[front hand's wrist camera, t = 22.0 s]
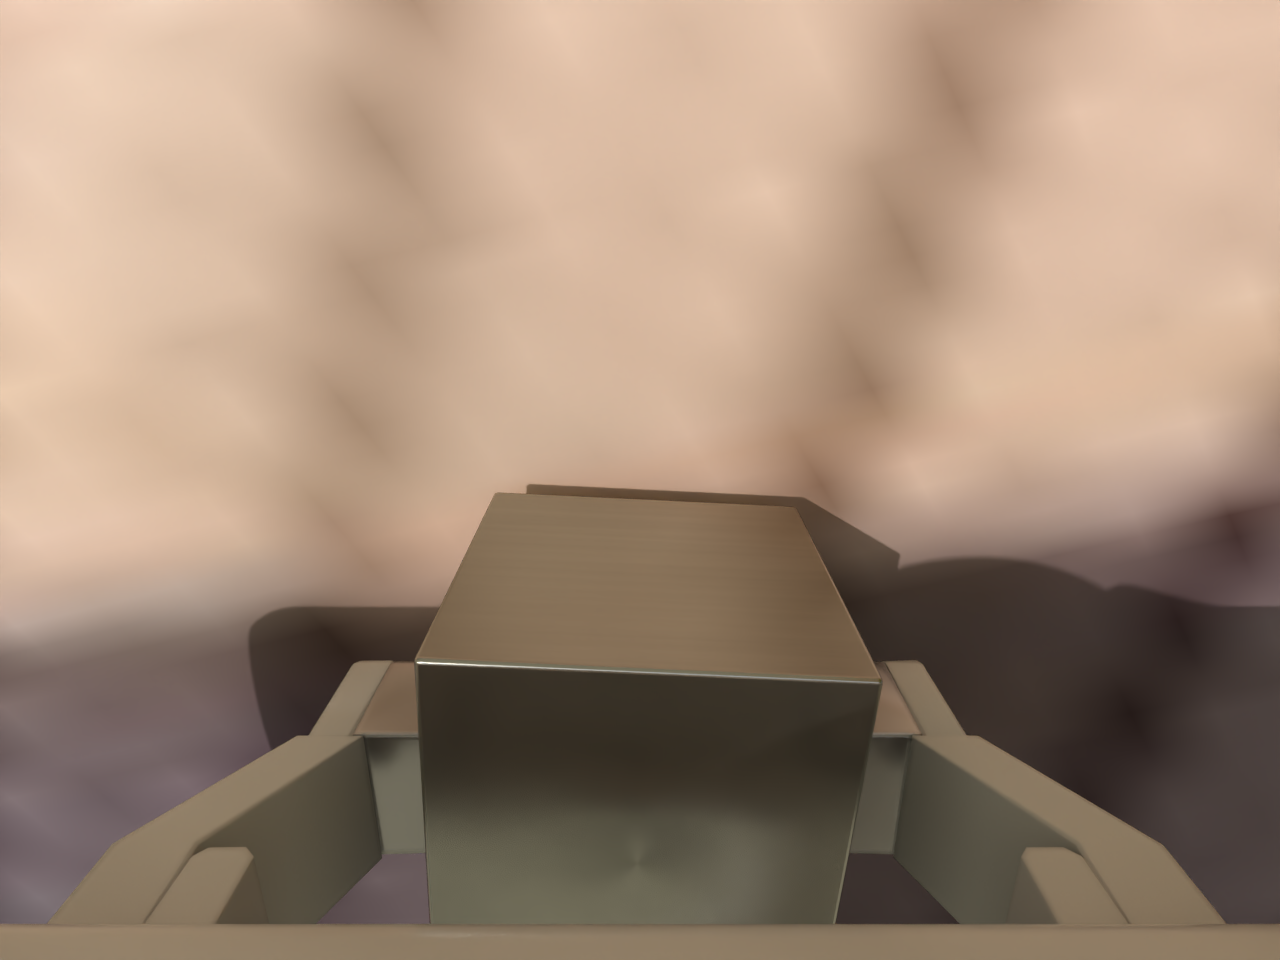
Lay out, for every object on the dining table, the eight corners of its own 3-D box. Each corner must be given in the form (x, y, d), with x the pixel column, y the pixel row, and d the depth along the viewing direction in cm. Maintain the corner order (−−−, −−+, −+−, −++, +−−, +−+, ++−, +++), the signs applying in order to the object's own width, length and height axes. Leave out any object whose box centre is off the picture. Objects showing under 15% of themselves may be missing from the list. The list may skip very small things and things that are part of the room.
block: (494, 490, 11) (411, 659, 7) (796, 505, 12) (886, 680, 7) (498, 754, 13) (433, 1013, 9) (761, 765, 13) (817, 1026, 9)
